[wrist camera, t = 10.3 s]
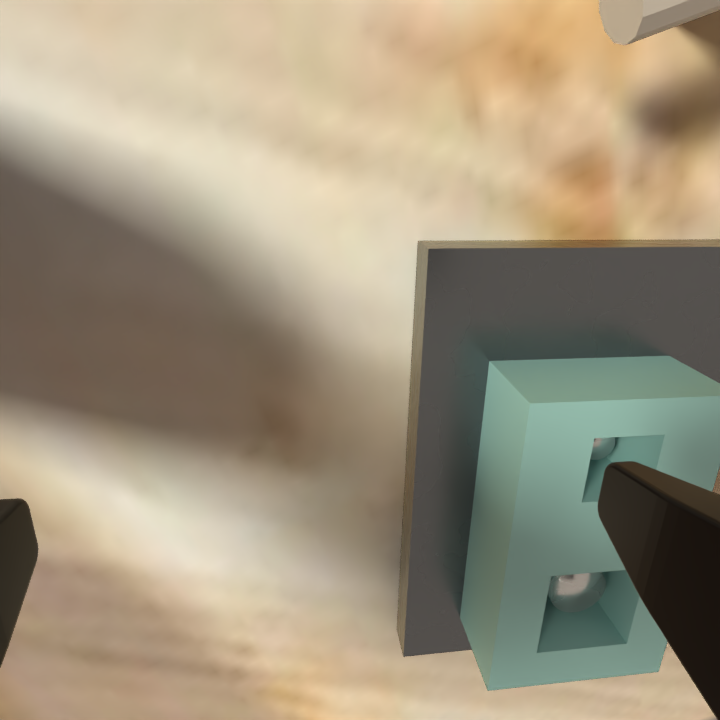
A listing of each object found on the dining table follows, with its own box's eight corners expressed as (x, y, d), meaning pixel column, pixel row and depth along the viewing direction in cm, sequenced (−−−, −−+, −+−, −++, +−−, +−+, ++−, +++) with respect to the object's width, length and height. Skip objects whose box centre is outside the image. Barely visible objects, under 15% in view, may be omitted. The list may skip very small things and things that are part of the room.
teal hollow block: (609, 603, 25) (658, 671, 22) (460, 617, 24) (487, 690, 21) (668, 355, 21) (740, 395, 17) (489, 361, 20) (529, 403, 17)
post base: (396, 629, 26) (416, 709, 22) (418, 240, 19) (450, 264, 16) (634, 606, 27) (689, 677, 24) (728, 239, 21) (823, 260, 17)
